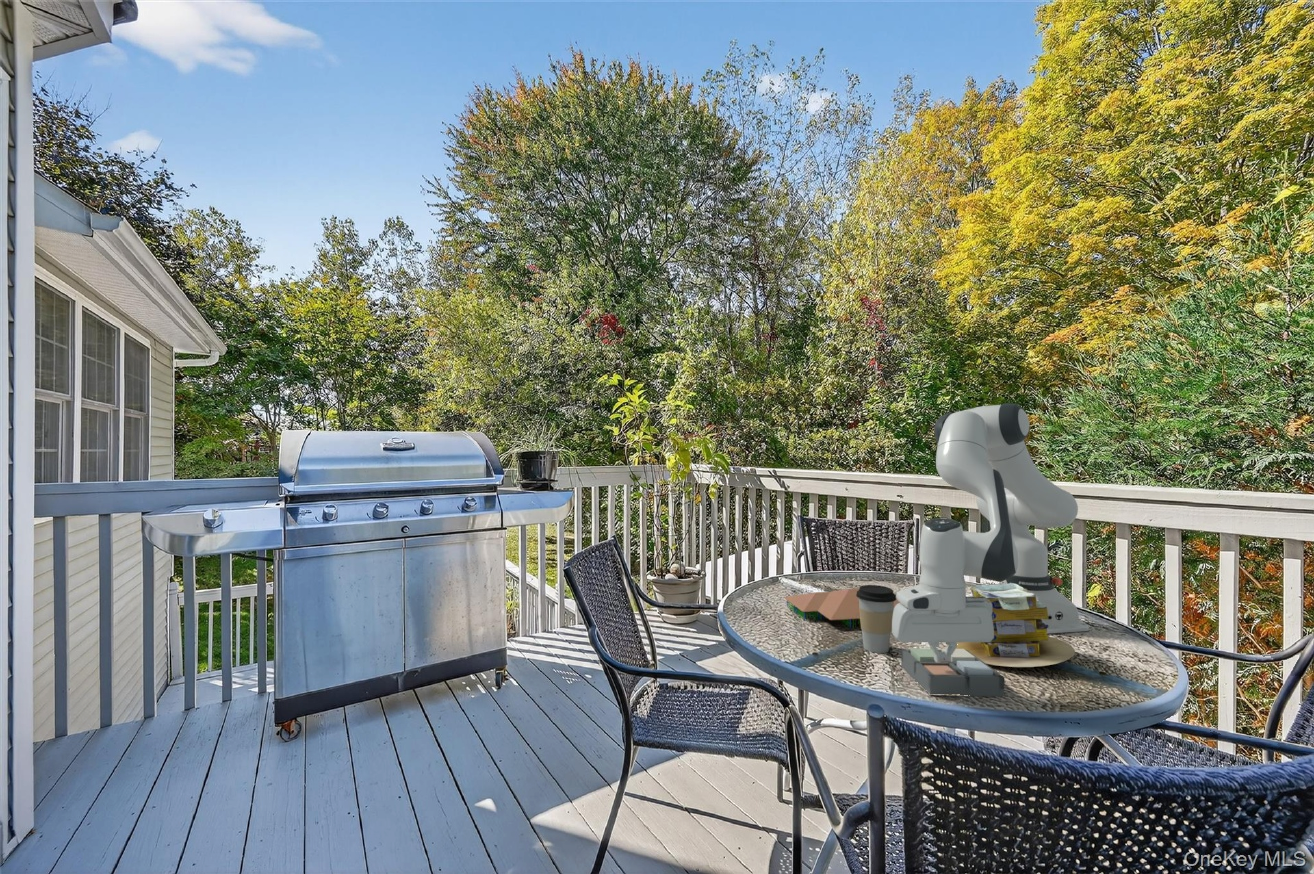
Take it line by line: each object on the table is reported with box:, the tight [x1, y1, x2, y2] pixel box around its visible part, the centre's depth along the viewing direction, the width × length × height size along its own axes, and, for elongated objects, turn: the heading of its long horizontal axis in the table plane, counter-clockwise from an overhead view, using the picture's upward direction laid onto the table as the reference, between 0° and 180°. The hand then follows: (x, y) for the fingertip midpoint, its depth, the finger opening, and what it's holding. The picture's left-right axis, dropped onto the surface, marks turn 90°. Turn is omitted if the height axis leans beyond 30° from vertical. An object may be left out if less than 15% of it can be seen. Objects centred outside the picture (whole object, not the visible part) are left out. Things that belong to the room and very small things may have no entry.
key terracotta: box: [924, 665, 958, 675], centre depth 124 cm, size 5×5×2 cm
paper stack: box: [956, 582, 1076, 668], centre depth 142 cm, size 25×25×17 cm
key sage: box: [910, 647, 936, 662], centre depth 131 cm, size 5×5×2 cm
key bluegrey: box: [957, 661, 993, 675], centre depth 124 cm, size 5×5×2 cm
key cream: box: [941, 648, 975, 662], centre depth 131 cm, size 5×5×2 cm
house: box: [783, 588, 900, 629], centre depth 173 cm, size 23×33×8 cm
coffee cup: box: [856, 584, 896, 654], centre depth 146 cm, size 9×9×15 cm
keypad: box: [900, 648, 1005, 697], centre depth 127 cm, size 15×15×4 cm
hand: (942, 661), depth 124 cm, fingers closed
